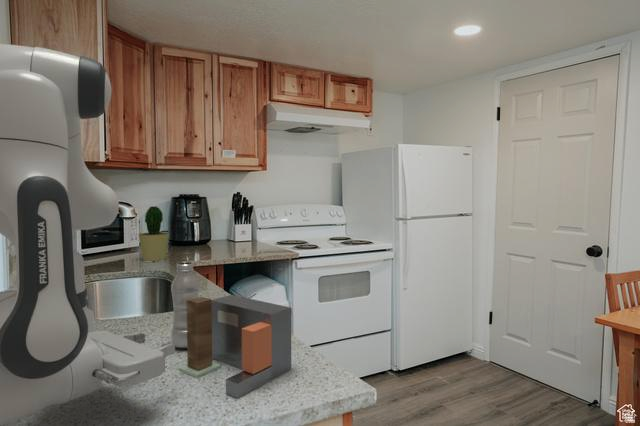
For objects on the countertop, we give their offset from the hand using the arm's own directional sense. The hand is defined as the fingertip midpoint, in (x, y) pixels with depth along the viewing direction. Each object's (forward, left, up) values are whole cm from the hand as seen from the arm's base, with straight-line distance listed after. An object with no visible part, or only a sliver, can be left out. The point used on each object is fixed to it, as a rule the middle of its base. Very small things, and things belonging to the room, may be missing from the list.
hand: (157, 342), depth 77 cm
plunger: (+14, +12, -6) cm, 19 cm away
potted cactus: (-132, +83, -9) cm, 156 cm away
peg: (0, +10, -8) cm, 13 cm away
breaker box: (+6, +13, -9) cm, 17 cm away
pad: (0, +10, -9) cm, 13 cm away
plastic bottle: (-13, +16, -9) cm, 22 cm away
